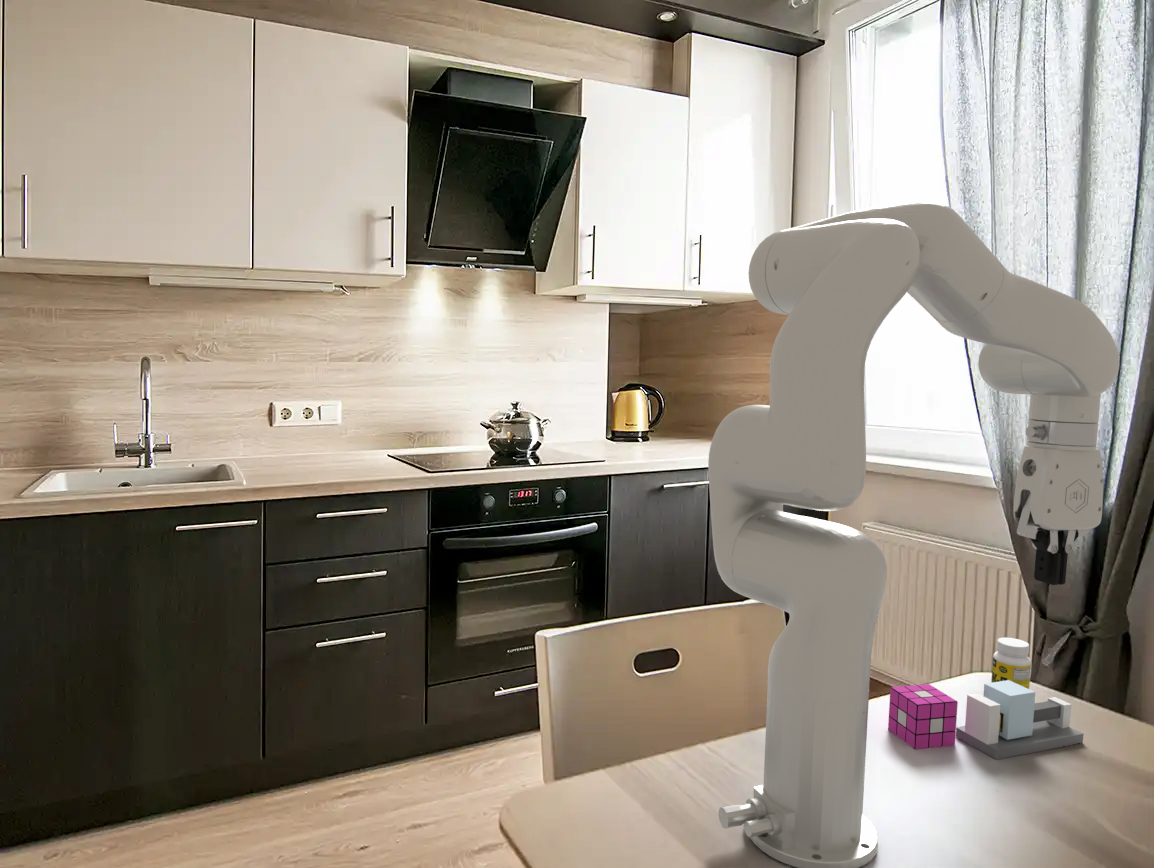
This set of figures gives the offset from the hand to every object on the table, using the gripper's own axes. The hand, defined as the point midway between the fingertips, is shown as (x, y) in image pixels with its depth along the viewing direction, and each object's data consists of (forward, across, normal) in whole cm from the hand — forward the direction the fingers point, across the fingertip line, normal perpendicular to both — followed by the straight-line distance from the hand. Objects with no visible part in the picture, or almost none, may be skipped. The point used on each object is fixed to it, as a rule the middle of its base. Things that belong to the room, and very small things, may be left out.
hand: (1049, 581), depth 107 cm
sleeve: (+19, -5, 0) cm, 19 cm away
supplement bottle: (+20, +6, +10) cm, 23 cm away
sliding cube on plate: (+20, -3, 0) cm, 20 cm away
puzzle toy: (+20, -14, +4) cm, 25 cm away
